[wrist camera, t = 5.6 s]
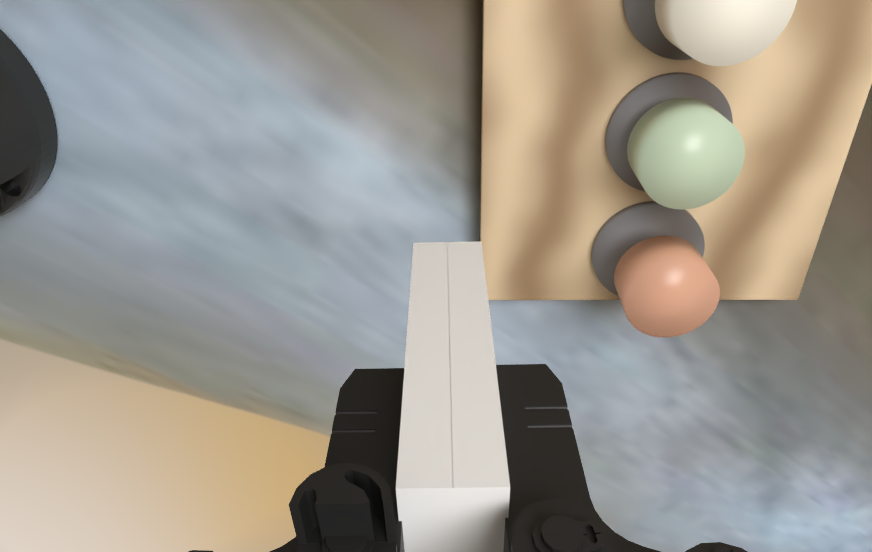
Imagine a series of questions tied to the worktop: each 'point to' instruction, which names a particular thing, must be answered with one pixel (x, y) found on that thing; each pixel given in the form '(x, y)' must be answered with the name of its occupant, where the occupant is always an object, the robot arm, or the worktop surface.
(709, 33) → the cream button
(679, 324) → the terracotta button
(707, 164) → the sage button
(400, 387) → the robot arm
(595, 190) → the button board
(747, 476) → the worktop surface
